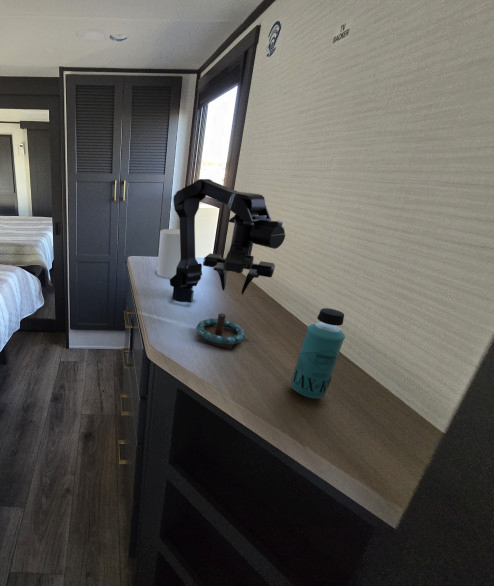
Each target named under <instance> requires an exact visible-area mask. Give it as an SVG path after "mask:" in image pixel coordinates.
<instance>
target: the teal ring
mask: <svg viewBox="0 0 494 586" xmlns="http://www.w3.org/2000/svg"><path fill="white" fill-rule="evenodd" d="M217 319H218V318H207V319H202V320H200V321H199V322H198V324H196V327H195V329H196V331H197V333H198V336H199V335H200V336H202V337H204V338H205V339H207V340H209V341H212V342H215V343H219V344H233V345H235V344H239V343H242V342H243V341H244V340H245V337H246V335H247V333H246V332H245V331H246V330H244V329H243V328H242V327H241V326H240V325H238V324H237V323H235V322H233V321H230V320H226V319H225V323H224V328H226V329H229V330H233V331H235V332H236V333H237V335H236V336H233V337H221V336H218V335H214V334H211V333H209V332H207V331H206V330H205V329H204V328H205V327H206V326H210V325H213V326H216V325H217Z"/></svg>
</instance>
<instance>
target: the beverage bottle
mask: <svg viewBox="0 0 494 586" xmlns="http://www.w3.org/2000/svg"><path fill="white" fill-rule="evenodd" d="M344 319H345V313H344V312H342V311H340V310H337V309H334V308H328V307H325V308H321V309H320V310H319V313H318V315H317V320H318V321H317V322H314V323H312V324H310V325H308V326H307V328H306V329H307V331H306V333H305V337H304V340H303V343H302V347H301V350H300V352H299V353H298V357H297V360H296V361H297V362H296V364H295V366H294V370H293V371H292V373H293V374H292V377H291V380H290V381H291V387H292V389H293V390H294V391H295V392H297V394H300V395H302V396H303V397H306V398H309V399H321V398H323V397H324V396H325V395H326V393H327V391H328V389H329V386H330V383H331V380H332V378H333V376H332V375H333V372H334V369H335V366H336V364H337V362H338V358H339V357H340V355H339V354H340V351H341V349H342V345H343V342H344V340H345V338H346V335H345V333H344V332H343V331H342V329H341V328H340V327H338V326H342V325H343V324H344Z"/></svg>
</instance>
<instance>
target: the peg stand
mask: <svg viewBox="0 0 494 586" xmlns="http://www.w3.org/2000/svg"><path fill="white" fill-rule="evenodd" d="M226 317H227V315H226V314H225V313H221V312H219V313H218V314H217V318H216V319H217V325H216V326H215V325H210V326H206V327H204V329H205V330H206V331H207V332H209V333H211V334H214V335H218V336H221V337H233V336H236V335H237V333H236V332H235V331H233V330H231V329H230V328H226V327H224V323H225V320H226ZM197 341H199V342H202V343H205V344H210V345H214V346H217V347H220V348H224V349H228V350H232V349H233V347H234V344H219V343H215V342H212V341H209V340H207V339H205V338H204V337H202V336H200V335H199V334H198V339H197Z"/></svg>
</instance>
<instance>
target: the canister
mask: <svg viewBox="0 0 494 586" xmlns="http://www.w3.org/2000/svg"><path fill="white" fill-rule="evenodd" d="M158 245H159V246H158V255H157V256H158V257H157V266H156V267H157V269H156V274H157V276H159V277H160V278H161V277H162V278H164V279H171V278H172V277H173V276H175V275H176V268H177V266H178V264H179V262H180V260H181V252H180V228H165V229H161V230H160V232H159V243H158Z"/></svg>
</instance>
